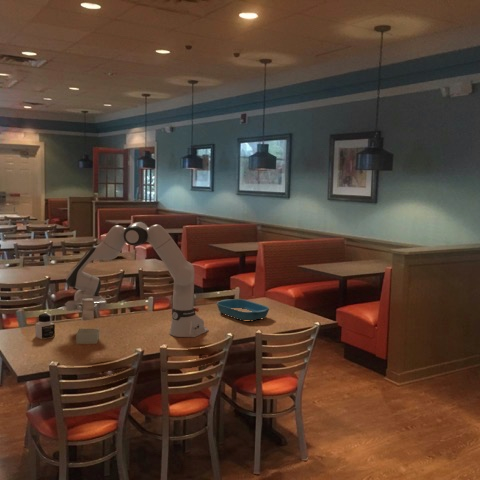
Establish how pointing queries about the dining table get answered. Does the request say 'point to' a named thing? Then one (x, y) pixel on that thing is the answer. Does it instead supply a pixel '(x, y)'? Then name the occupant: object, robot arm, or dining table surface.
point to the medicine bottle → (45, 327)
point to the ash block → (88, 309)
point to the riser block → (87, 336)
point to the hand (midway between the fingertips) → (88, 308)
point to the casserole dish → (257, 309)
